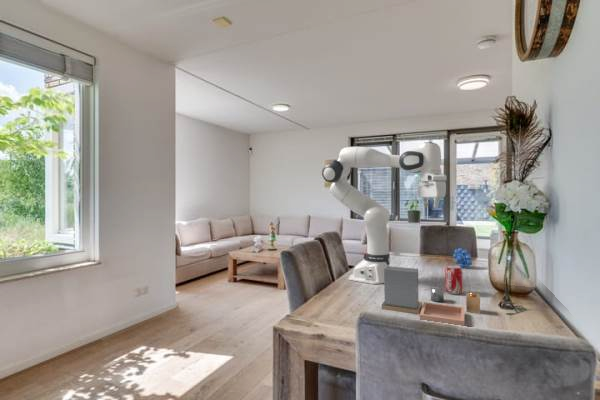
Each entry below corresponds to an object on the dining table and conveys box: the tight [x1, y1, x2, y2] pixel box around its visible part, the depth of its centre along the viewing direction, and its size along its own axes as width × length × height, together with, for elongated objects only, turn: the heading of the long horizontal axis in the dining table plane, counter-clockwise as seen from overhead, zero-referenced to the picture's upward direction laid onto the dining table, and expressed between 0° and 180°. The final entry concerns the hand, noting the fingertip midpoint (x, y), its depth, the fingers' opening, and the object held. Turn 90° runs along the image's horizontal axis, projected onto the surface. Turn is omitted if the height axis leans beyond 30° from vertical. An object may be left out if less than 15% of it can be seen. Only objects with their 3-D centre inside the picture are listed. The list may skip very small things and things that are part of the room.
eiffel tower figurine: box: [497, 274, 528, 316], centre depth 121 cm, size 15×10×13 cm
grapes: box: [452, 247, 473, 269], centre depth 186 cm, size 12×7×12 cm, turn 29°
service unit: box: [381, 265, 423, 315], centre depth 124 cm, size 14×10×16 cm
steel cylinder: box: [430, 286, 445, 304], centre depth 131 cm, size 5×5×5 cm
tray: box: [419, 301, 466, 326], centre depth 113 cm, size 14×14×2 cm
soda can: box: [444, 264, 464, 295], centre depth 141 cm, size 7×7×12 cm
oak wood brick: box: [465, 291, 481, 315], centre depth 119 cm, size 4×4×7 cm
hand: (430, 207), depth 144 cm, fingers open, 8 cm apart
